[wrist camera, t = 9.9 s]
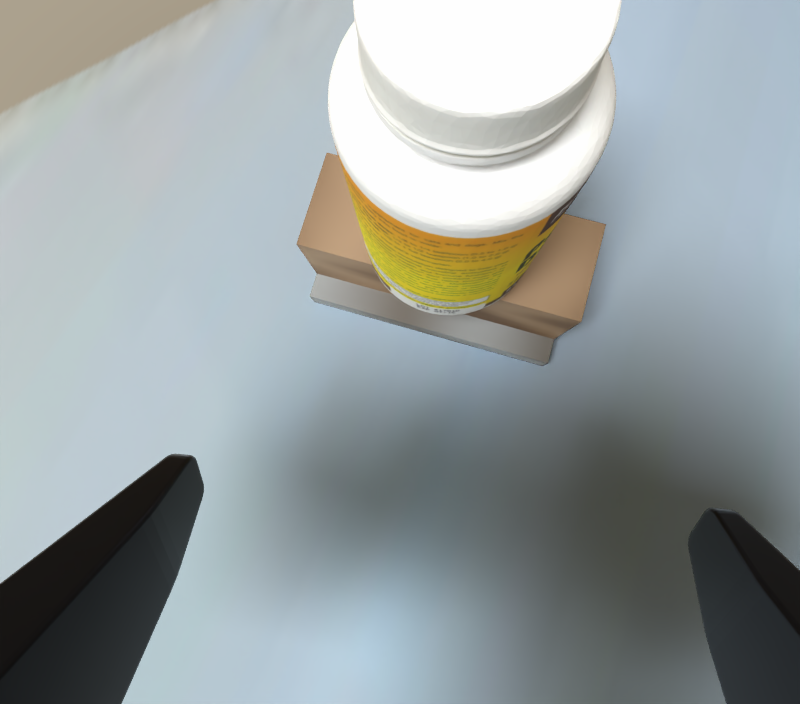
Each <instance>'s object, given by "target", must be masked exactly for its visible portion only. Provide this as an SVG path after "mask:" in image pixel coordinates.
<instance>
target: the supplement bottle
mask: <svg viewBox="0 0 800 704" xmlns="http://www.w3.org/2000/svg"><path fill="white" fill-rule="evenodd" d="M621 1H622V0H353V7H354V16H355V21H354V22H353V23H352V25H351V27H350V28H349V30H348V31H347V33H346V35H345V37H344V38H343V40H342V42H341V44H340V46H339V49H338V51H337V54H336V57H335V60H334V63H333V67H332V71H331V75H330V80H329V90H328V111H329V121H330V126H331V131H332V135H333V139H334V143H335V147H336V150H337V154H338V157H339V160H340V163H341V166H342V169H343V173H344V176H345V179H346V182H347V185H348V189H349V192H350V195H351V198H352V202H353V205H354V209H355V212H356V216H357V219H358V222H359V226H360V229H361V232H362V235H363V238H364V242H365V245H366V249H367V252H368V255H369V258H370V261H371V263H372V265H373V268H374V270H375V272H376V273H377V275H378V277H379V278H380V280H381V281H382V283H383V284H384V285H385V286H386V288H387V289H388V290H389V291H390V292H391V293H392V294H394V295H395V296H396V297H397V298H399V299H400V300H401V301H403V302H404V303H406V304H408V305H410V306H412V307H414V308H416V309H418V310H421V311H424V312H428V313H432V314H438V315H460V314H467V313H471V312H474V311H478V310H480V309H483V308H485V307H487V306H489V305H491V304H493V303H495V302H496V301H498V300H499V299H501V298H502V297H503V296H504V295H506V294H507V293H508V292H509V291H510V290H511V289H512V288H513V287H514V286H515V285H516V283H517V282H518V281H519V279H520V278H521V277H522V275H523V274H524V273H525V271H526V270H527V268H528V267H529V265H530V264H531V262H532V261H533V259H534V258H535V256H536V255H537V253H538V252H539V251H540V249H541V248H542V246H543V245H544V243H545V242H546V240H547V238H548V237H549V236H550V234H551V233H552V231H553V230H554V228H555V227H556V225H557V223H558V222H559V220H560V219H561V217H562V216H563V214H564V213H565V212H566V210H567V209H568V207H569V206H570V205H571V203H572V202H573V200H574V199H575V198H576V196H577V194H578V193H579V191H580V190H581V188H582V187H583V186H584V184H585V183H586V181H587V180H588V178H589V177H590V175H591V173H592V171H593V170H594V168H595V166H596V165H597V163H598V161H599V159H600V157H601V156H602V154H603V152H604V149H605V147H606V144H607V141H608V139H609V136H610V133H611V130H612V126H613V121H614V115H615V108H616V85H615V75H614V69H613V65H612V61H611V58H610V54H609V51H608V48H609V46H610V44H611V41H612V38H613V36H614V33H615V30H616V27H617V23H618V19H619V15H620V8H621Z"/></svg>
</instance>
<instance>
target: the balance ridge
mask: <svg viewBox="0 0 800 704" xmlns="http://www.w3.org/2000/svg"><path fill="white" fill-rule="evenodd" d="M605 226H606V224H602V223H598V222H594V221H590V220H587V219H583V218H579V217H575V216H571V215H567V214H563V216H562V217H561V219H560V220H559V222H558V223H557V225H556V227H555V228H554V230H553V231H552V233H551V234H550V236H549V237H548V238H547V240H546V242H545V243H544V245H543V246H542V248H541V249H540V251H539V252H538V253H537V255H536V256H535V258H534V259H533V261H532V262H531V264H530V265H529V267H528V268H527V270H526V271H525V273H524V274H523V275H522V277H521V278H520V279H519V281H518V282H517V283H516V285H515V286H514V287H513V288H512V289H511V290H510V291H509V292H508V293H507V294H506V295H504V296H503V297H502V298H501V299H499V300H498V301H496V302H495V303H493V304H491V305H489V306H487V307H485V308H483V309H480V310H478V311H474V312H471V313H467V314H460V315H438V314H432V313H428V312H424V311H421V310H418V309H416V308H414V307H412V306H410V305H408V304H406V303H404V302H403V301H401V300H400V299H399V298H397V297H396V296H395V295H394V294H392V293H391V292H390V291H389V290H388V289H387V288H386V286H385V285H384V284H383V283H382V281H381V280H380V278H379V277H378V275H377V273H376V272H375V270H374V268H373V265H372V263H371V261H370V258H369V255H368V252H367V249H366V245H365V242H364V238H363V235H362V232H361V229H360V226H359V222H358V219H357V216H356V212H355V209H354V205H353V202H352V198H351V195H350V192H349V189H348V185H347V182H346V179H345V176H344V173H343V169H342V166H341V163H340V160H339V157H338V155H334V154H330V153H327V154H326V157H325V160H324V163H323V166H322V169H321V172H320V175H319V178H318V181H317V184H316V187H315V190H314V193H313V196H312V199H311V202H310V205H309V208H308V211H307V214H306V217H305V220H304V223H303V226H302V229H301V232H300V235H299V238H298V241H297V245H298V247H299V248H300V250H301V251H302V253H303V254H304V256H305V257H306V258H307V260H308V261H309V263H310V264H311V266H312V267H313V269H314V270H315V271H316V273H317V275H316V278H315V281H314V284H313V287H312V290H311V293H310V297H311V298H312V299H313V301H314V302H317V303H320V304H324V305H328V306H331V307H335V308H338V309H342V310H345V311H349V312H352V313H356V314H359V315H363V316H367V317H370V318H374V319H377V320H381V321H384V322H388V323H391V324H395V325H398V326H402V327H406V328H409V329H413V330H416V331H420V332H423V333H427V334H430V335H434V336H438V337H441V338H445V339H448V340H452V341H455V342H459V343H462V344H466V345H469V346H473V347H477V348H480V349H484V350H487V351H491V352H494V353H498V354H501V355H505V356H509V357H512V358H516V359H519V360H523V361H526V362H530V363H533V364H537V365H540V366H543V365H545V364H547V363H548V361H549V357H550V353H551V349H552V346H553V342H554V339H555V338H557V337H558V336H560V335H561V334H563V333H565V332H566V331H568V330H569V329H571V328H572V327H574V326H576V325H577V324H579V323H580V322H581V321H582V317H583V313H584V309H585V305H586V301H587V297H588V293H589V289H590V285H591V281H592V277H593V273H594V269H595V266H596V262H597V258H598V254H599V250H600V246H601V242H602V238H603V234H604V230H605Z"/></svg>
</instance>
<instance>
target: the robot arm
mask: <svg viewBox="0 0 800 704" xmlns="http://www.w3.org/2000/svg"><path fill="white" fill-rule="evenodd" d="M203 493H204V484H203V480H202V477H201V474H200V470H199V467H198V464H197V461H196V458H194V457H193V456H191V455H184V454H171V455H169V456H167V457H165V458H164V459H163V460H162V461H160V462H159V463H158V464H156V465H155V466H154V467H152V468H151V469H150V470H148V471H147V472H146V473H145V474H143V475H142V476H141V477H139V478H138V479H137V480H135V481H134V482H133V483H131V484H130V485H129V486H127V487H126V488H125V489H124V490H122V491H121V492H120V493H118V494H117V495H116V496H114V497H113V498H112V499H110V500H109V501H108V502H107V503H105V504H104V505H103V506H101V507H100V508H99V509H97V510H96V511H95V512H93V513H92V514H91V515H89V516H88V517H87V518H86V519H84V520H83V521H82V522H80V523H79V524H78V525H76V526H75V527H74V528H72V529H71V530H70V531H69V532H67V533H66V534H65V535H63V536H62V537H61V538H59V539H58V540H57V541H55V542H54V543H53V544H52V545H50V546H49V547H48V548H46V549H45V550H44V551H42V552H41V553H40V554H38V555H37V556H36V557H34V558H33V559H32V560H31V561H29V562H28V563H27V564H25V565H24V566H23V567H21V568H20V569H19V570H17V571H16V572H15V573H14V574H12V575H11V576H10V577H8V578H7V579H6V580H4V581H3V582H2V583H0V704H122V701H123V699H124V697H125V695H126V692H127V690H128V688H129V686H130V683H131V681H132V679H133V676H134V674H135V672H136V670H137V667H138V665H139V663H140V661H141V658H142V656H143V654H144V651H145V649H146V647H147V645H148V642H149V640H150V638H151V636H152V633H153V631H154V629H155V626H156V624H157V622H158V620H159V617H160V615H161V613H162V611H163V608H164V606H165V604H166V601H167V599H168V597H169V595H170V592H171V590H172V588H173V585H174V583H175V580H176V578H177V575H178V572H179V569H180V566H181V564H182V560H183V557H184V554H185V551H186V548H187V545H188V542H189V538H190V535H191V532H192V529H193V526H194V523H195V520H196V516H197V513H198V510H199V507H200V504H201V501H202V497H203ZM688 547H689V553H690V558H691V563H692V569H693V574H694V579H695V584H696V589H697V594H698V599H699V604H700V609H701V614H702V619H703V624H704V629H705V633H706V637H707V641H708V644H709V648H710V652H711V655H712V658H713V661H714V665H715V668H716V671H717V674H718V678H719V681H720V684H721V687H722V691H723V694H724V697H725V700H726V703H727V704H800V570H799V569H798V568H797V567H795V566H794V565H793V564H792V563H791V562H790V561H789V560H788V559H787V558H786V557H785V556H784V555H783V554H782V553H780V552H779V551H778V550H777V549H776V548H775V547H774V546H773V545H772V544H771V543H770V542H769V541H768V540H767V539H766V538H764V537H763V536H762V535H761V534H760V533H759V532H758V531H757V530H756V529H755V528H754V527H753V526H752V525H751V524H749V523H748V522H747V521H746V520H745V519H744V518H743V517H742V516H741V515H740V514H738V513H737V512H735V511H733V510H729V509H719V508H709V509H707V510H706V511H705V512H704V513H703V515H702V516H701V518H700V520H699V521H698V523H697V524H696V526H695V527H694V529H693V530H692V532H691V534H690V536H689V541H688Z"/></svg>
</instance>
